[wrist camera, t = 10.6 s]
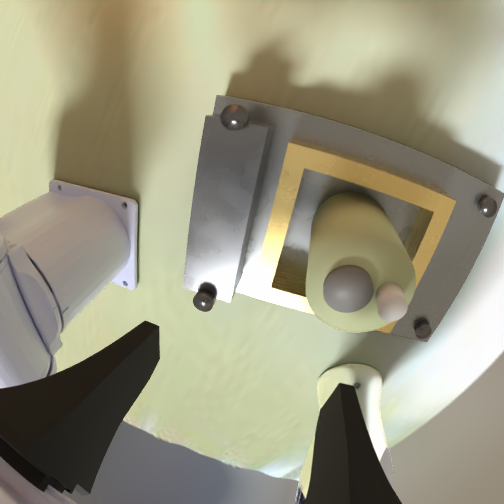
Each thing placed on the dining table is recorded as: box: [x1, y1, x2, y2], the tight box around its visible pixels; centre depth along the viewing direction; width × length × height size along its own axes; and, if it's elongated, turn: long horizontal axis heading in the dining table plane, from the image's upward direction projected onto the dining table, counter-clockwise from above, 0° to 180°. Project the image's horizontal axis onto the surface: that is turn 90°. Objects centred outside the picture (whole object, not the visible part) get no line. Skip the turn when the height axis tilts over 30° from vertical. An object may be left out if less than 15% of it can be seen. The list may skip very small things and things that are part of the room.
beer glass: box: [295, 364, 394, 504], centre depth 18 cm, size 7×7×15 cm
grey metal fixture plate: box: [183, 95, 504, 342], centre depth 16 cm, size 18×12×5 cm, turn 78°
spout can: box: [306, 192, 416, 332], centre depth 14 cm, size 5×5×7 cm
